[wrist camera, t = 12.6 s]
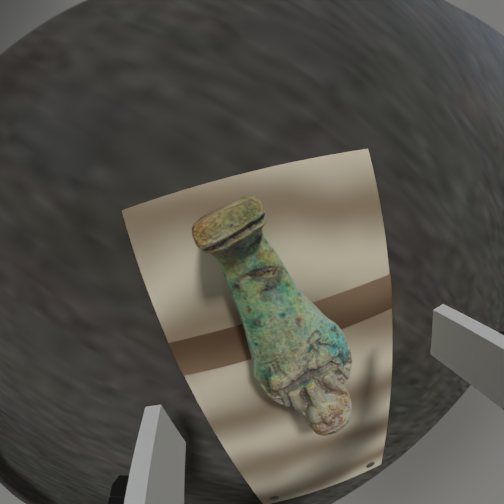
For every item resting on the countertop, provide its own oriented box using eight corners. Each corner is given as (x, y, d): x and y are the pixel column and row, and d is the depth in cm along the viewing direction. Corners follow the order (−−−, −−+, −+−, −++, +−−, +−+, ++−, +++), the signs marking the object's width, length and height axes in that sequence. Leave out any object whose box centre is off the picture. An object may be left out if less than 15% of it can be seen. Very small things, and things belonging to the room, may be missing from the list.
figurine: (294, 179, 14) (321, 174, 10) (348, 392, 17) (371, 425, 13) (192, 214, 13) (183, 221, 10) (279, 420, 17) (291, 459, 13)
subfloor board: (378, 459, 22) (381, 464, 21) (262, 499, 21) (263, 505, 20) (361, 150, 15) (368, 148, 14) (126, 209, 14) (121, 210, 13)
